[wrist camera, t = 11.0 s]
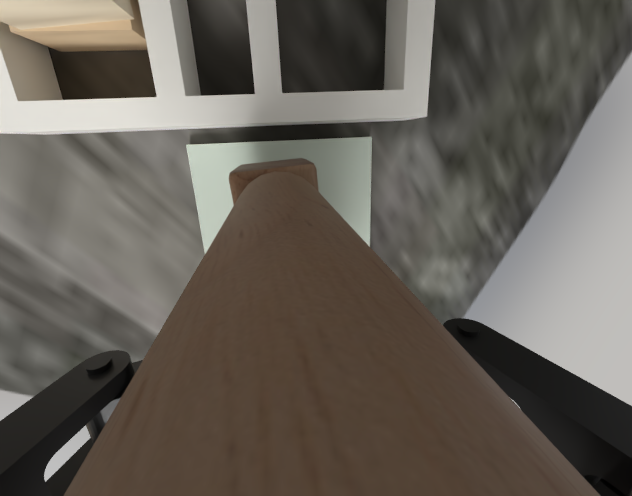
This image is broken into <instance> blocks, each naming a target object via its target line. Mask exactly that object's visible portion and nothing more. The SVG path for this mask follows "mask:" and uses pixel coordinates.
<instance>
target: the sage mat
mask: <svg viewBox="0 0 632 496" xmlns="http://www.w3.org/2000/svg"><path fill="white" fill-rule="evenodd" d="M186 146H187V152H188V158H189V164H190V170H191V175H192V181H193V187H194V193H195V199H196V205H197V210H198V216H199V222H200V228H201V234H202V240H203V245H204V251H205V254H206V252H207V250H208V249H209V247H210V245H211V244H212V242H213V240H214V239H215V237H216V235H217V233H218V232H219V230H220V228H221V227H222V225H223V223H224V221H225V220H226V218H227V216H228V215H229V213H230V211H231V210H232V208H233V206H234V204H233V199H232V194H231V189H230V184H229V174H230V172H231V171H233V170H234V169H235V168H237V167H238V166H240V165H242V164H251V163H260V162H269V161H278V160H287V159H296V158H304V159H307V160H309V161H310V162H312V163H314V165H315V167H316V169H317V180H318V190H319V193H320V194H321V195H322V196H323V197H324V198H325V199H326V200H327V201H328V202H329V203H330V205H331V206H332V207H333V208H334V209H335V210H336V211H337V212H338V213H339V214H340V215H341V216H342V218H343V219H344V220H345V221H346V222H347V223H348V224H349V225H350V226H351V227H352V228H353V229H354V230H355V232H356V233H357V234H358V235H359V236H360V237H361V238H362V239H363V240H364V241H365V242H366V243H367V244H368V246H369V247H370V212H371V157H372V137H355V138H332V139H309V140H286V141H263V142H240V143H217V144H194V145H186Z"/></svg>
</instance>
